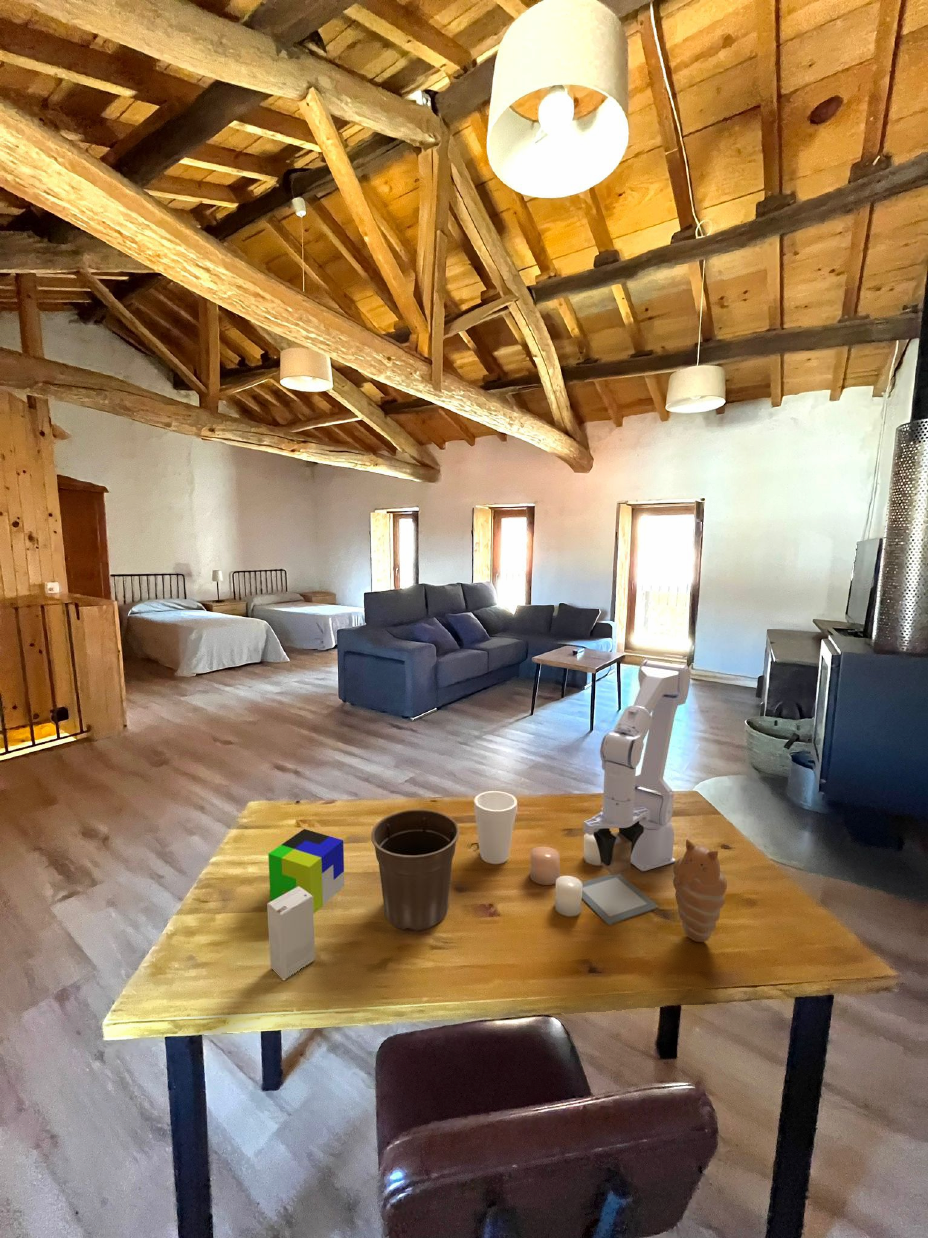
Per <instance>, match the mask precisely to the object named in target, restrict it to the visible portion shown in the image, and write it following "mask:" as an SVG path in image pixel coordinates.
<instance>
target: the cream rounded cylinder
mask: <svg viewBox="0 0 928 1238" xmlns="http://www.w3.org/2000/svg"><path fill="white" fill-rule="evenodd" d="M583 853H584V854H583V858H584V861H585V863H587V864H589V865H592V866H602V865H601V864H600V862H601V859H600V854H599V849H598V846H597V843H596V840H595V838H594V836H593V835H588V834H587V833H586V832H585V833H584V835H583Z"/></svg>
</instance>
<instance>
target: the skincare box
mask: <svg viewBox="0 0 928 1238" xmlns="http://www.w3.org/2000/svg"><path fill="white" fill-rule="evenodd" d="M266 907H267V909H266V910H267V925H268V946H269V962H270V963H269V964H270V969H271V968H272V969H273V970H274V971H275V972H276V973H277V974H278V975H279V976H280V977H281V978H282V979H286V978H288V977H289V976H290V977H292V976H293V975H295V974H296V973H298V972H299V971H300V969H301V968H302V969H304V968H305V967H306V965H307V966H308V965H309V964H311V963H312V962H313V961H315V960H316V950H315V948H316V947H315V944H316V943H315V920H314V919H315V917H314V915H315V914H313V896H312V895H311V894H309V893H308V892H307V891H305V890H304V889H302V888H301V887H299V886H298V887H296V888H295V889H293V890H291V891H289V892H287V893H286V894H284V895H282V896H280V897H278V898H277V899H275V900H273V901H269V902H267V904H266ZM303 967H304V968H303ZM272 969H271V970H272ZM302 969H301V970H302ZM273 970H272V971H273ZM274 971H273V972H274ZM297 971H298V972H297ZM275 972H274V973H275ZM276 973H275V974H276ZM294 973H295V974H294ZM277 974H276V975H277ZM292 974H293V975H292ZM278 975H277V976H278ZM291 975H292V976H291ZM279 976H278V977H279ZM280 977H279V978H280ZM290 977H289V978H290ZM281 978H280V979H281ZM289 978H288V979H289ZM282 979H281V980H282ZM286 980H287V979H286Z"/></svg>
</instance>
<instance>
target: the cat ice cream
mask: <svg viewBox="0 0 928 1238" xmlns="http://www.w3.org/2000/svg"><path fill="white" fill-rule="evenodd" d="M685 847H686V848H685V849H686V851H685V852H684V854H683V856H682V857H679V858H678V859H677V860H675V862H673V866H672V873H673V874H674V876H673V879H672V880H673V882H672V883H673V887H674V890H675V894H674V895H675V896H674V897H675V900H676V904H677V911H678V912H677V913H678V917H679V918H680V920H681V927H682V930H683V931H684V933H685V934H686V935H687V936H688V938H689V939H691V940H692V941H694V942H697V943H705V942H707V941H708V940H709V939H710V938H711V936H712V932H714V931H715V929H716V927H717V922H718V921H719V919H720V915H721V914H720V913H721V909H722V908H723V907H724V906H725V903H726V897H725V893H726V892H727V889H728V882H727V878H726V877H725V876H724V874H723V872H722V870H721V863H720V861H719V857H718V856H719V851H718V850H712V849H711V848H710V847H707V846H705V845H702V844H694V843H692V842H691V841H690V840H689V839H686V840H685Z"/></svg>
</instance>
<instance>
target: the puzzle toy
mask: <svg viewBox="0 0 928 1238" xmlns="http://www.w3.org/2000/svg"><path fill="white" fill-rule="evenodd" d="M344 851H345V850H344V839H340V838H337V837H333V836H331V835H330V836H329V835H327V834H323V833H320V832H316V831H313V830H310V829H307V828H303V829H302V830H301V831H299V832H298V833H296V834H295V835H293V836H292V837H290V838H289V839H287V840H285V842H283V843H281V844H280V845H279V846H277V847H276V848H274V849H272V850H271V851H270V852H268V853H267V855H268V875H269V876H268V877H269V897H270V899H269V900H272V901H273V900H275V899H277V898H278V897H280V896H282V895H284V894H286V893H287V892H289V891H291V890H293V889H295V888H296V887H298V886H299V887H301V888H302V889H304V890H305V891H307V892H308V893H309V894H311V895H312V896H313V915H315V913H316V912H318V911H319V910H320V909H321V908H322V907H323V906H324V905H326V903H327V902H329V900H331V899H332V898H333V897H335V895H337V893H339V891H341V890H342V889H343V888H344V887H345V857H344V855H345V854H344Z"/></svg>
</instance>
